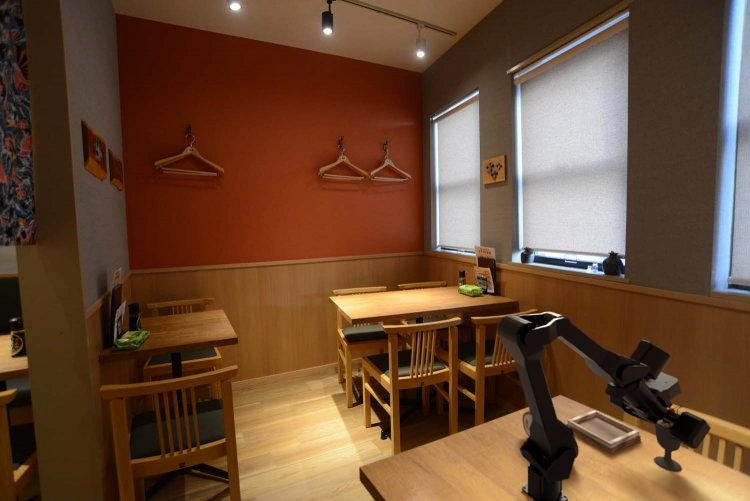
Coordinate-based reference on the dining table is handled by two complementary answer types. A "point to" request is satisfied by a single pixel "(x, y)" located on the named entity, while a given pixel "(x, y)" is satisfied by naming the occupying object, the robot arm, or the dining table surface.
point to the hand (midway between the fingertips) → (673, 431)
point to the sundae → (667, 444)
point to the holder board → (604, 431)
